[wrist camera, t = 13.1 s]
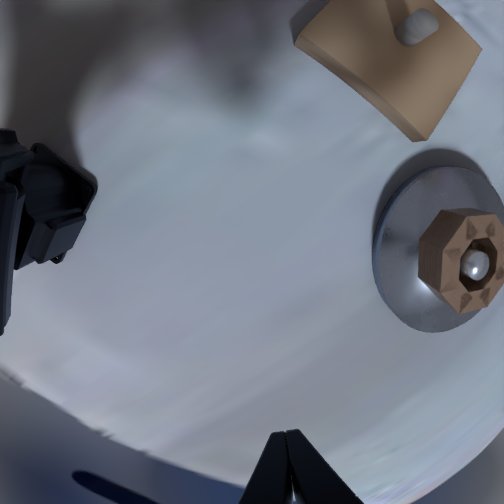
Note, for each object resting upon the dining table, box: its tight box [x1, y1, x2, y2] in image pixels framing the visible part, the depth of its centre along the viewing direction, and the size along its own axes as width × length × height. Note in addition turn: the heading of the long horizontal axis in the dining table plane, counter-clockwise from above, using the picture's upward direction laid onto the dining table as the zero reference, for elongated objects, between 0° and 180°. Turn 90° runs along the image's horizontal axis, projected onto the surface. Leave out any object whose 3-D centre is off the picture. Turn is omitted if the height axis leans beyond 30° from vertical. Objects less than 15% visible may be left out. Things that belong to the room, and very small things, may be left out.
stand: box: [294, 0, 482, 142], centre depth 15 cm, size 10×10×5 cm
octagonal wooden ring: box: [418, 208, 504, 315], centre depth 18 cm, size 6×6×3 cm
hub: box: [372, 167, 504, 333], centre depth 19 cm, size 12×12×4 cm
